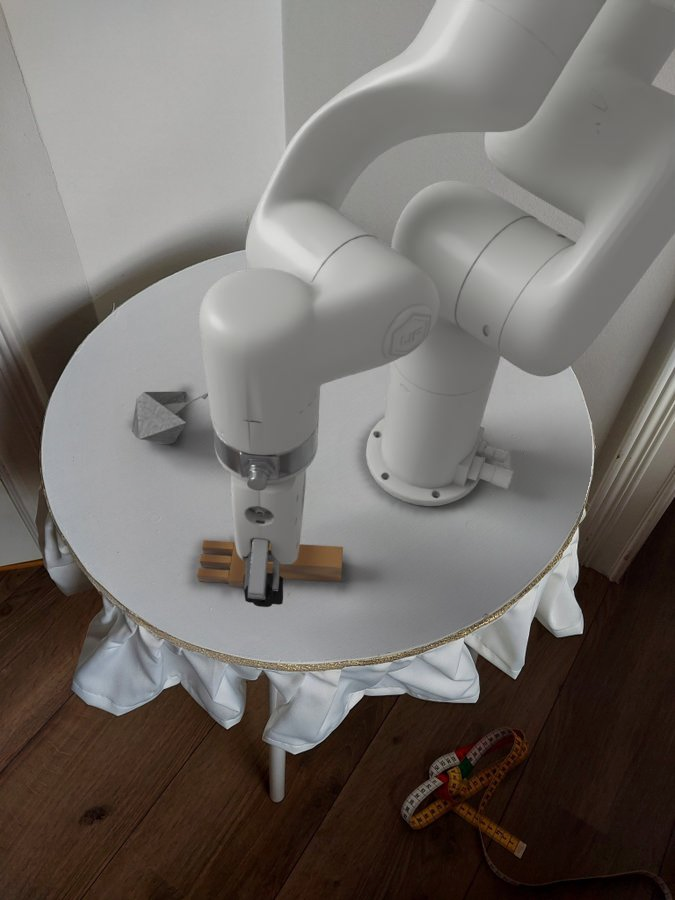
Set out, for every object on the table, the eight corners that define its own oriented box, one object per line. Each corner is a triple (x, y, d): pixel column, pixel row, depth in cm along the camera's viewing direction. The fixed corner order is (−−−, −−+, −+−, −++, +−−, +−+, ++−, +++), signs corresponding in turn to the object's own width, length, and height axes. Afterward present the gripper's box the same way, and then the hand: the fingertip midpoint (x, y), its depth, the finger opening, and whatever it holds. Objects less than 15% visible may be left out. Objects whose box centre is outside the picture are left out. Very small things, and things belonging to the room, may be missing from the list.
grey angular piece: (119, 390, 81) (193, 352, 81) (149, 437, 84) (220, 401, 84) (112, 424, 70) (197, 381, 70) (146, 477, 73) (228, 435, 73)
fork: (342, 551, 71) (343, 536, 68) (340, 593, 68) (341, 578, 66) (205, 543, 71) (201, 527, 69) (197, 584, 68) (193, 569, 66)
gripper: (308, 537, 47) (304, 645, 60) (325, 350, 57) (318, 477, 71) (192, 529, 47) (213, 638, 60) (231, 343, 57) (242, 471, 71)
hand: (270, 551), depth 65 cm, fingers open, 9 cm apart
